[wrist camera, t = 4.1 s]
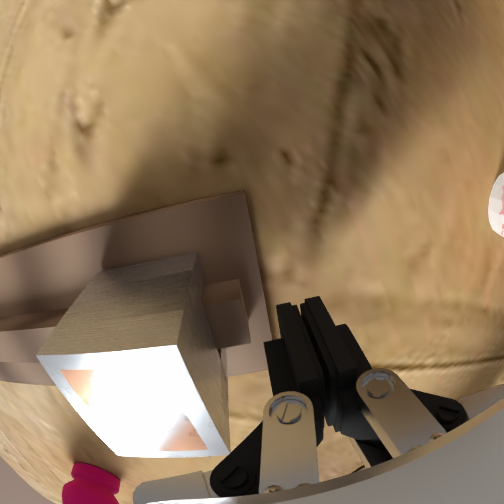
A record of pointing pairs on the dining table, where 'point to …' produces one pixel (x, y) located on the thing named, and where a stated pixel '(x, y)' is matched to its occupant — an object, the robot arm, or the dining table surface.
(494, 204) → the beverage cup
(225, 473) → the robot arm
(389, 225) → the dining table surface
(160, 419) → the block
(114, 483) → the pepper mill
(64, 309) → the rail
